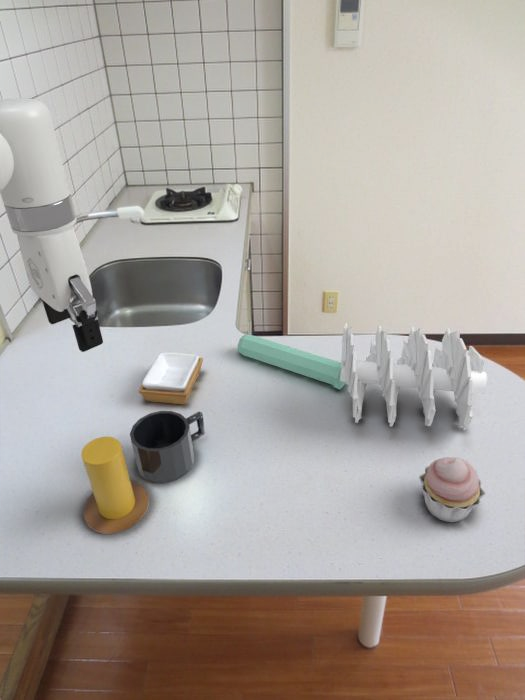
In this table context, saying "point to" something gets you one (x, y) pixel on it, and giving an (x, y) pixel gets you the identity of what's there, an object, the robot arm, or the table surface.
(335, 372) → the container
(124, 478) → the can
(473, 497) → the cupcake
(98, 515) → the coaster
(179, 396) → the soap dish
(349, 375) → the spiral staircase
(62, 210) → the robot arm
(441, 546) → the table surface
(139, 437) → the mug
